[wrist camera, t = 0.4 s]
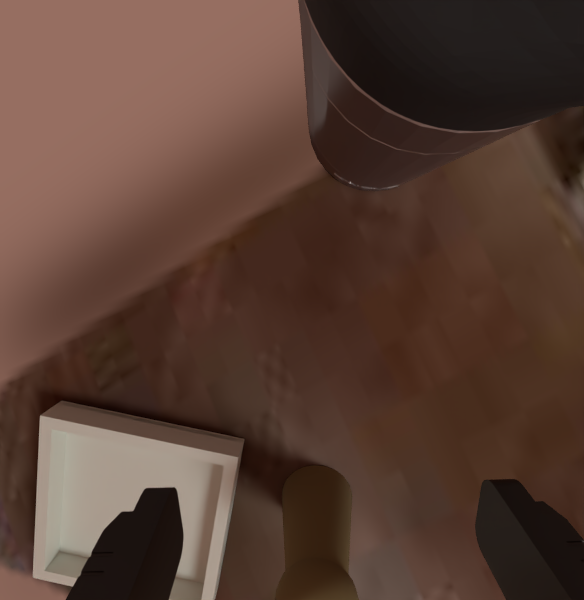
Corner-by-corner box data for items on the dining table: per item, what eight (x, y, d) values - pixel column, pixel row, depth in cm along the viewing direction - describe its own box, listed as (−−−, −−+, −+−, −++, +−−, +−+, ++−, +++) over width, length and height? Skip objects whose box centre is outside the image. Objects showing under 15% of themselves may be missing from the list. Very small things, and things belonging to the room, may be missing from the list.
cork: (270, 477, 31) (247, 609, 21) (336, 455, 31) (346, 581, 20) (298, 534, 32) (289, 687, 22) (362, 514, 32) (386, 663, 21)
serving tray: (61, 400, 31) (40, 415, 29) (244, 438, 31) (238, 457, 28) (52, 552, 35) (32, 577, 32) (217, 589, 34) (209, 617, 32)
